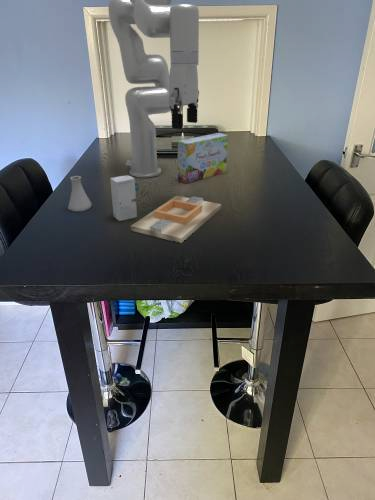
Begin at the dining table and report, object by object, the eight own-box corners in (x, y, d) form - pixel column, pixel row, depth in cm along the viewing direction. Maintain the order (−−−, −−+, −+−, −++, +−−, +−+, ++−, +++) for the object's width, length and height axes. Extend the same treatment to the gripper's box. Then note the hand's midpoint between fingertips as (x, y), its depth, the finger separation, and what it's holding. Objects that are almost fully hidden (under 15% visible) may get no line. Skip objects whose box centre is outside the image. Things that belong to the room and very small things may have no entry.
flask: (96, 205, 122) (92, 175, 117) (83, 213, 116) (79, 182, 111) (76, 202, 124) (72, 172, 119) (63, 210, 118) (58, 179, 113)
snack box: (187, 184, 139) (186, 143, 132) (177, 180, 143) (176, 140, 135) (226, 172, 151) (228, 134, 144) (216, 169, 155) (218, 131, 148)
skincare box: (119, 221, 111) (115, 182, 105) (113, 216, 114) (109, 177, 108) (138, 217, 114) (135, 178, 108) (131, 212, 117) (128, 174, 111)
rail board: (131, 230, 106) (130, 219, 104) (176, 199, 126) (176, 189, 124) (181, 243, 99) (181, 231, 97) (220, 208, 119) (221, 198, 117)
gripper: (185, 57, 109) (186, 119, 118) (156, 60, 96) (159, 130, 104) (209, 58, 106) (208, 121, 115) (182, 60, 93) (183, 132, 101)
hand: (185, 125), depth 109 cm, fingers open, 9 cm apart
